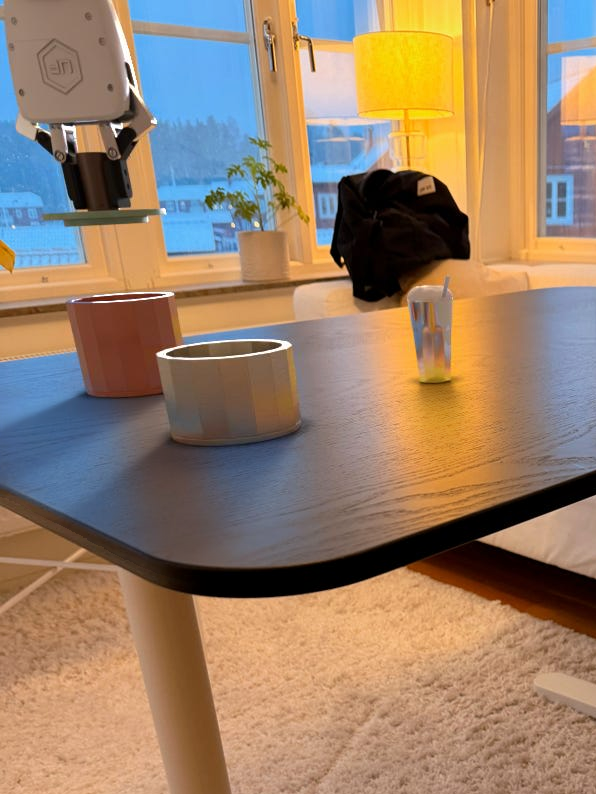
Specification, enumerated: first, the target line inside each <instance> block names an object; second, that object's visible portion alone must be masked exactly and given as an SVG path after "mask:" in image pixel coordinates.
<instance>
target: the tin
mask: <svg viewBox="0 0 596 794" xmlns="http://www.w3.org/2000/svg"><path fill="white" fill-rule="evenodd" d="M183 345H184V346H179V347H174V348H169V349H165V350H163V351H161V352H158V353H156V357H157V362H158V368H159V373H160V378H161V383H162V388H163V393H162V394H163V397H164V403H165V409H166V413H167V418H168V423H169V429H170V432H171V439H173V440H174V441H175V442H176V443H180V444H183V445H190V446H199V447H220V446H221V447H223V446H237V445H238V446H239V445H247V444H253V443H260V442H265V441H271V440H274V439H275V440H276V439H278V438H282V437H285V436H288V435H290V434H293V433H294V432H297V431H298V430H299V429H300V428H301V426H302V422H301V420H302V414H301V405H300V397H299V391H298V383H297V376H296V365H295V359H294V350H293V345H292V344H291V343H290V342H288V341H285V340H277V339H231V340H218V341H207V342H199V343H191V344H183Z"/></svg>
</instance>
